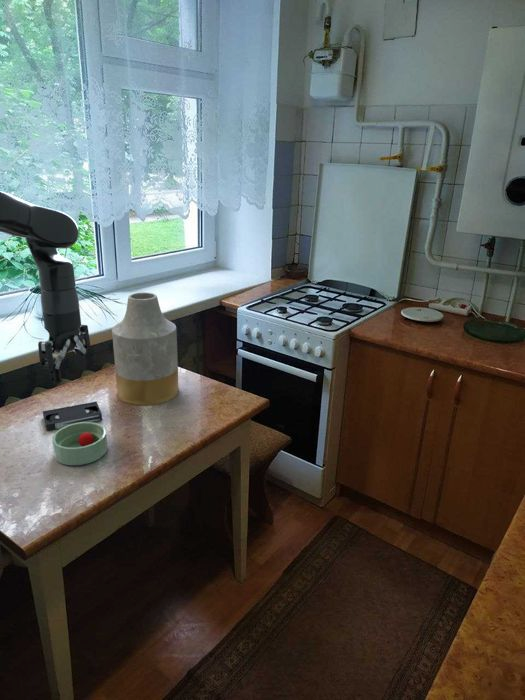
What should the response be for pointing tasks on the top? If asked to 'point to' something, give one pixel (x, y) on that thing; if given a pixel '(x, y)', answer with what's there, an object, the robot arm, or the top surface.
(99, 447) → the bowl
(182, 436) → the top surface
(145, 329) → the vase
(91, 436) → the strawberry
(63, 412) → the vhs tape
